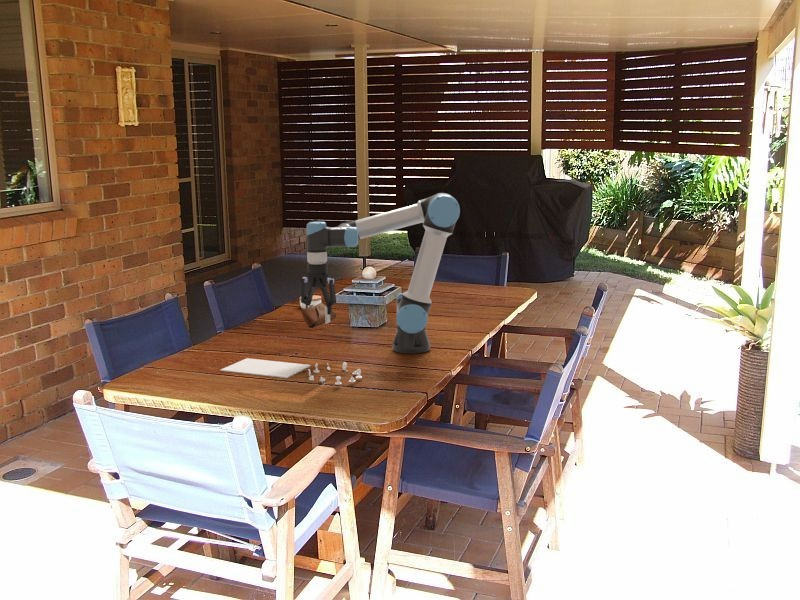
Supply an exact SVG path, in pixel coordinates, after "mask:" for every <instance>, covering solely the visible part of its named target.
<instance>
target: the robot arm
mask: <svg viewBox="0 0 800 600" xmlns="http://www.w3.org/2000/svg"><path fill="white" fill-rule="evenodd" d="M460 213H461V208H460V204H459V202H458V200H457V199H456V198H455V197H454V196H452V195H451V194H449V193H445V192H438V193H436V194H434V195H431V196H429V197H426V198H424V199H419V200H418V201H417V203H414V204H412V205H409V206H408V205H407V206H404V207H400V208H397V209H393V210H390V211H386V212H383V213H382V212H381V213H379V214H375V215H372V216H367V217H363V218H360V219H355V220H353V221H349V222H341V223H340V224H339V225H337V226H334V227H330V226H327V223H326V222H325V221H309V222H308V223H307V224H306V234H305V235H306V252H307V253H306V256H307V260H306V261H307V276H303V277H301V278H300V281H301V291H300V292H301V295H300V297H301V303H304V304H305V305H306V308H309V307H312V306H313V304H311V301H312V297H313V295H315V291H316V288H319V289H320V290H321V293H322V296H323V298H324V302H325V323H324V324H329V323H331V321H330V314H332V312H333V310H332V309H333V308H332V307H333V305H336V304H337V295H336V288H335V286H336V285H335V284H336V283H335V282H336V279H335V278H331V277H329V276H328V263H327V262H328V249H327V248H334V247H336V248H354V247H357V246H358V245H359V240H363V239H366V238H369V237H372V236H376V235H380V234H385V233H389V232H392V231H395V230H399V229H402V228H406V227H410V226H414V225H417V224H421V223H422V227H423V228H424V230H425V231H424V235H423V237H422V240H421V241H422V242H421V244H420V247H419V248H420V249H419V252H418V255H417V258H416V261H415V265H414V269H413V271H412V275H411V279H410V282H409V285H408V289H407V290H406V291H404V292H402V293H401V292H400V293H398V294H396V299H395V301H396V316H395V318H396V320H395V321H396V331H395V335H394V339H393V342H392V351H393V352H397V353H400V354H421V353H426V352H428V351H431V342H430V339H429V337H428V334H427V333H428V332H427V328H426V326H427V325H428V322H429V321H428V320H429V319H428V318H429V317H428V316H429V313H430V311H431V307H432V303H433V301H432V300H431V297H430V295H431V292H432V290H433V286H434V282H435V279H436V276H437V273H438V268H439V265H440V262H441V259H442V256H443V252H444V248H445V245H446V242H447V239H448V237H449V236H451V235H453V233H454V229H455V226H456V223H457V221H458V219H459V218H460ZM308 282H309V283H310V284H309V285H308ZM327 284H328V286H327ZM308 286H309V287H308ZM308 288H309V289H308Z"/></svg>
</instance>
